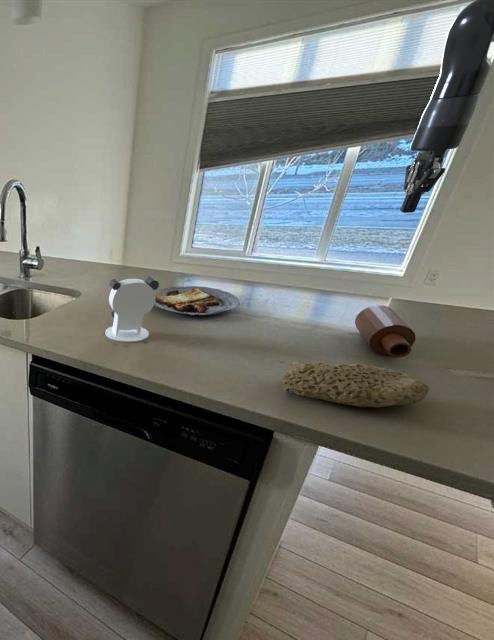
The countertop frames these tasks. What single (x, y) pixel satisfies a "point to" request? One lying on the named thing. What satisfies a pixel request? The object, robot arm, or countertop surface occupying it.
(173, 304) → the food plate
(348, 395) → the sponge
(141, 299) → the panda figurine
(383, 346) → the bottle
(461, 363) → the countertop surface
